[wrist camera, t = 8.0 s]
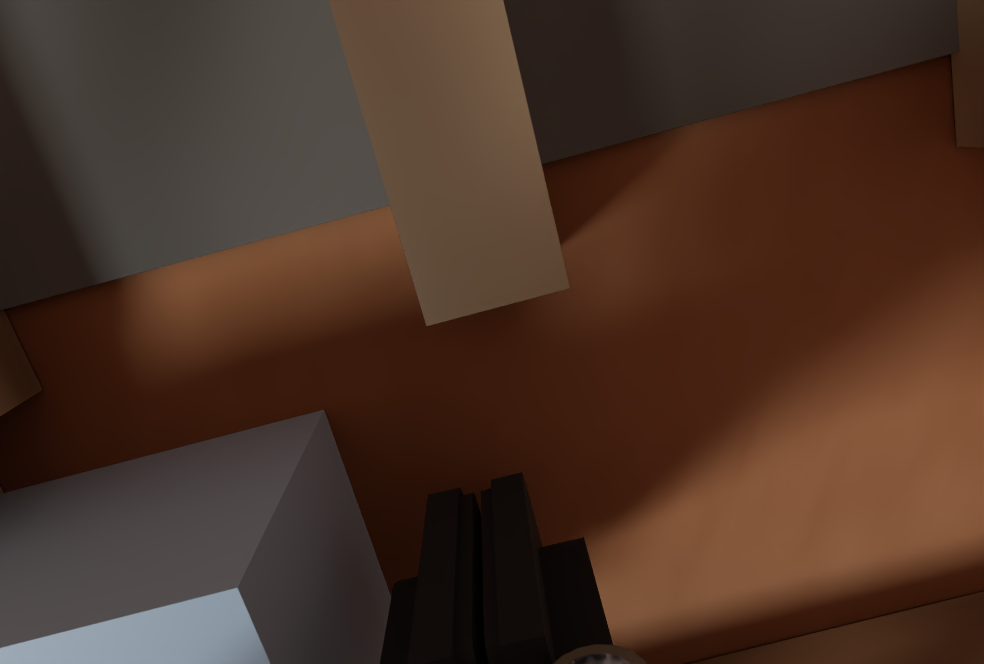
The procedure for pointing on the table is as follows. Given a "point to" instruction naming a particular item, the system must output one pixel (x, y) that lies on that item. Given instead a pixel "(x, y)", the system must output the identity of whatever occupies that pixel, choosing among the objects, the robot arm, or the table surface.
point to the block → (196, 558)
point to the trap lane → (410, 148)
